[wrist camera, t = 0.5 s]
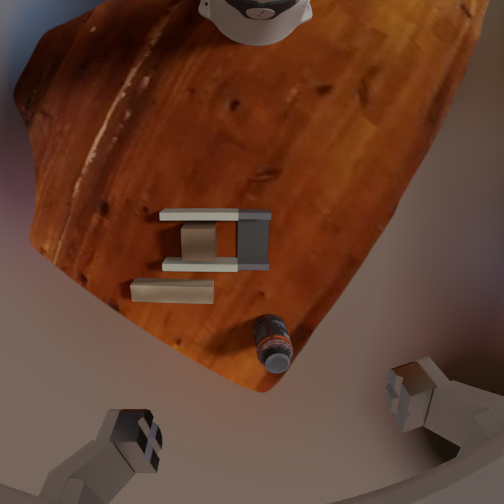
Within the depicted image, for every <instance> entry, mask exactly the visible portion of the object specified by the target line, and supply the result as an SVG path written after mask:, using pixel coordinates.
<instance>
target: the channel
mask: <svg viewBox="0 0 504 504" xmlns="http://www.w3.org/2000/svg"><path fill="white" fill-rule="evenodd" d="M159 215H160V220H232V221H238V245H237V257H215V261H182V257H166V258H165V260H164V262H163V263H162V269H163V271H203V272H238V270H269V262H268V259H267V258H268V233H269V220H271V212H270V210H252V209H163V210H162V211H161V212H160V213H159Z"/></svg>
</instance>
